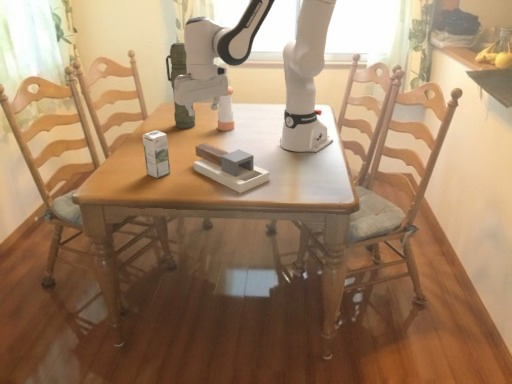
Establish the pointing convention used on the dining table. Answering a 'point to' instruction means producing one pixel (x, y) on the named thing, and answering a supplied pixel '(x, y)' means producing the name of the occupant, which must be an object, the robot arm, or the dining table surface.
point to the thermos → (178, 68)
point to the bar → (210, 153)
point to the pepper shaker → (226, 112)
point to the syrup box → (156, 153)
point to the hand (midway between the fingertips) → (203, 112)
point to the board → (234, 171)
